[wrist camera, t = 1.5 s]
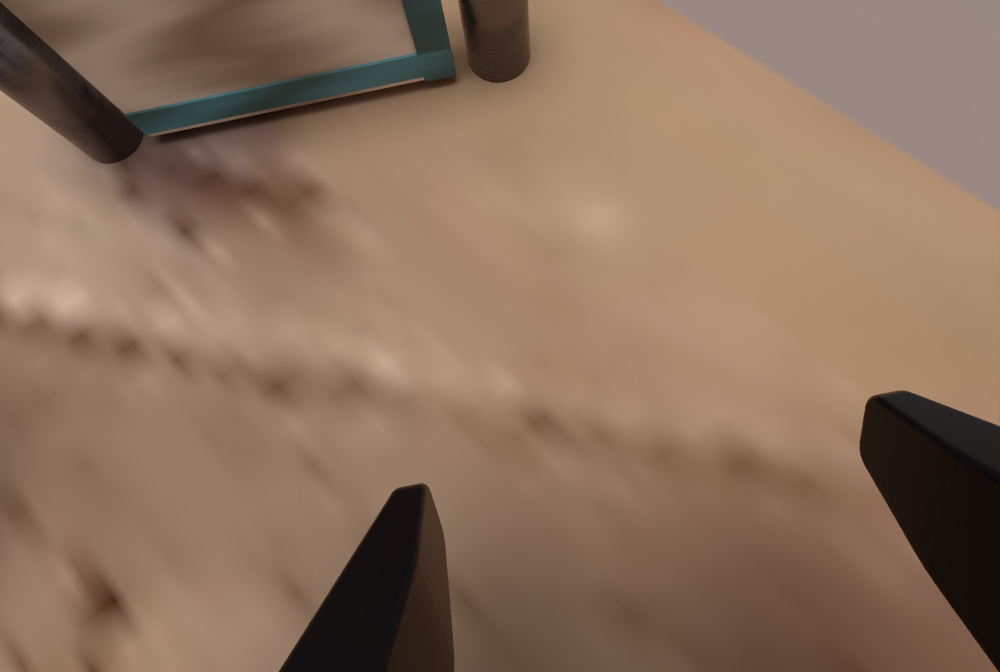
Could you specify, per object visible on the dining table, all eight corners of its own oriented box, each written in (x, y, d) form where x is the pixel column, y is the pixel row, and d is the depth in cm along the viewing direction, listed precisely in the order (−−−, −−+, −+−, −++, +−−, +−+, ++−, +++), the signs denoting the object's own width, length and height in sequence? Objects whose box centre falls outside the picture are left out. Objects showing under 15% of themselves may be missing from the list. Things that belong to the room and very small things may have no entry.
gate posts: (84, 168, 24) (-131, 17, 17) (83, 115, 25) (-125, -55, 17) (535, 74, 24) (531, -125, 16) (522, 23, 25) (513, -193, 17)
